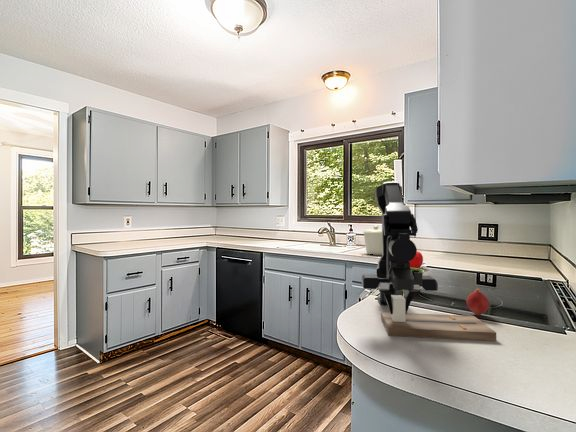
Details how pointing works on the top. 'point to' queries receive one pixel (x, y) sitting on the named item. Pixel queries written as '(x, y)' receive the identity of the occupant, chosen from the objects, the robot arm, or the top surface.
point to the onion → (477, 302)
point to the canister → (373, 240)
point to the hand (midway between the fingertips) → (397, 314)
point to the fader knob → (398, 308)
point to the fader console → (438, 327)
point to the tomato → (416, 261)
